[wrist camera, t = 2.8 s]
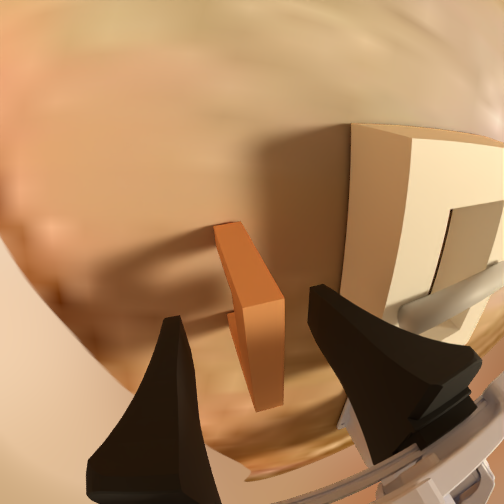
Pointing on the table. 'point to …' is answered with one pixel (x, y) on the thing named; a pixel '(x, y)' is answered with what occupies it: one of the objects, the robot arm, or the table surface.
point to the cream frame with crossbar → (424, 227)
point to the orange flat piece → (254, 315)
